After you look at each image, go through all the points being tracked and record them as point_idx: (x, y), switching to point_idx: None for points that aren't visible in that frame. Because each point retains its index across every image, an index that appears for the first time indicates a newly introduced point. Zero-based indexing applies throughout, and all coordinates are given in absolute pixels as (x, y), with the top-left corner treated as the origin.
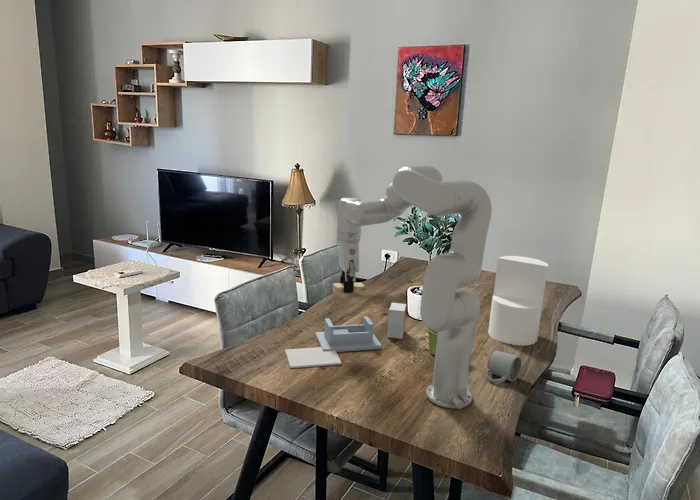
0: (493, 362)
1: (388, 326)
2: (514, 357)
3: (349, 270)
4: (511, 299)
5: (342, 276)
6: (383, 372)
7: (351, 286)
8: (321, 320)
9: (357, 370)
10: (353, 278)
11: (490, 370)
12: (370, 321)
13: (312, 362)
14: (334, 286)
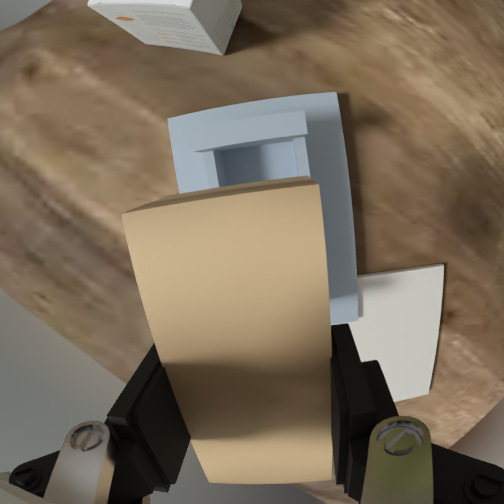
0: None
1: (214, 38)
2: None
3: (94, 491)
4: None
5: (162, 481)
6: (493, 142)
7: (387, 388)
8: (87, 293)
9: (479, 219)
10: (430, 455)
11: None
12: (262, 121)
13: (424, 347)
14: (288, 480)
